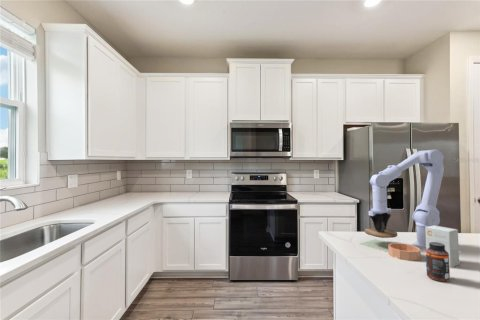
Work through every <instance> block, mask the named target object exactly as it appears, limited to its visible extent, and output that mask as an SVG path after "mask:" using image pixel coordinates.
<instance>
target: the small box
mask: <svg viewBox="0 0 480 320" xmlns="http://www.w3.org/2000/svg"><path fill="white" fill-rule="evenodd" d="M425 231H426V247H425V251H426V250H427V249H428V248H429V247H430V246H429V243H430V242H438V243H442V244H444V245H445V250H446V251H447V252H448V254H449V268H453V267H456V266H458V265H460V250H459V249H460V248H459V246H460V245H459V230H458V229H456V228H451V227H446V226H440V225H438V226H435V225H433V226H428V227H425Z"/></svg>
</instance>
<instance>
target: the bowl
mask: <svg viewBox="0 0 480 320" xmlns="http://www.w3.org/2000/svg"><path fill="white" fill-rule="evenodd" d="M390 243H391V242H390ZM387 253H388V255H389V257H392V258H395V259H398V260H402V261H408V262H409V261H410V262H416V261H417V262H418V261H420V260H422V259H421V258H422V254H421V253H422V250H421V249H420V247H417V245H414V244H413V245H412V244H408V243H401V242H392V243H391V244H388V252H387Z"/></svg>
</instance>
